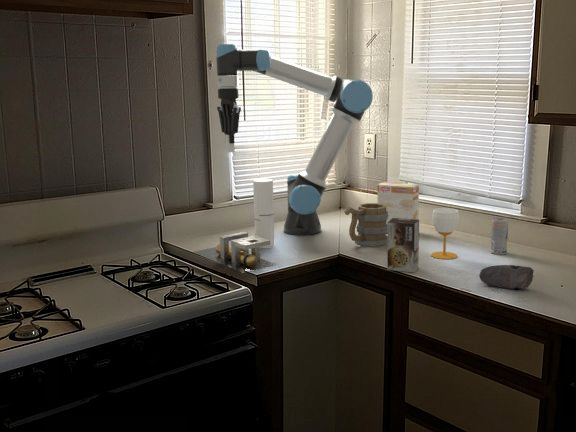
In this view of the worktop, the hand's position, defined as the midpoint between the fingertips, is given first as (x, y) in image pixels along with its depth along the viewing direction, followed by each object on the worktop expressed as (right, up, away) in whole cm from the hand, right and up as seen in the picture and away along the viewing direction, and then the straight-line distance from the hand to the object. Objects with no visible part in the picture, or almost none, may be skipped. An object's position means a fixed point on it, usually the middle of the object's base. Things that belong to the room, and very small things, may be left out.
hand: (230, 151), depth 239 cm
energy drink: (+95, -37, -15) cm, 103 cm away
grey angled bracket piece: (+3, -39, -18) cm, 43 cm away
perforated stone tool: (+85, -45, -51) cm, 109 cm away
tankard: (+50, -35, 0) cm, 61 cm away
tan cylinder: (+4, -39, -20) cm, 44 cm away
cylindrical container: (+13, -36, -2) cm, 38 cm away
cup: (+76, -38, -18) cm, 87 cm away
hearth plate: (+3, -39, -18) cm, 43 cm away
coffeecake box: (+65, -31, +16) cm, 74 cm away
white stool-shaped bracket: (+9, -40, -26) cm, 49 cm away
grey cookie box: (+59, -41, -32) cm, 79 cm away
